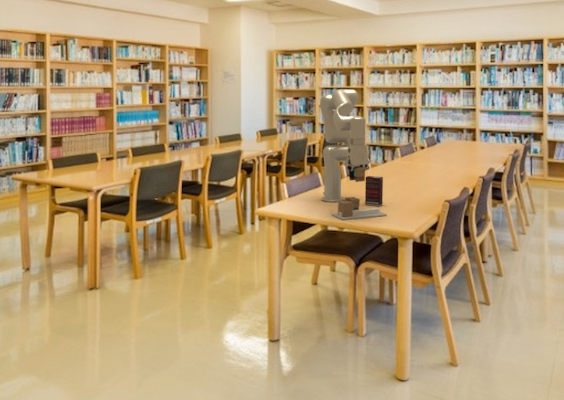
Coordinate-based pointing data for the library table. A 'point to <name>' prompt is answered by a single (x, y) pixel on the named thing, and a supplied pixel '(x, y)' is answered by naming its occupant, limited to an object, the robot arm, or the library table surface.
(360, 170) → the block
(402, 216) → the library table surface
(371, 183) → the supplement box
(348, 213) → the rail board
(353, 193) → the library table surface
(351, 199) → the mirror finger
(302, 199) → the library table surface
